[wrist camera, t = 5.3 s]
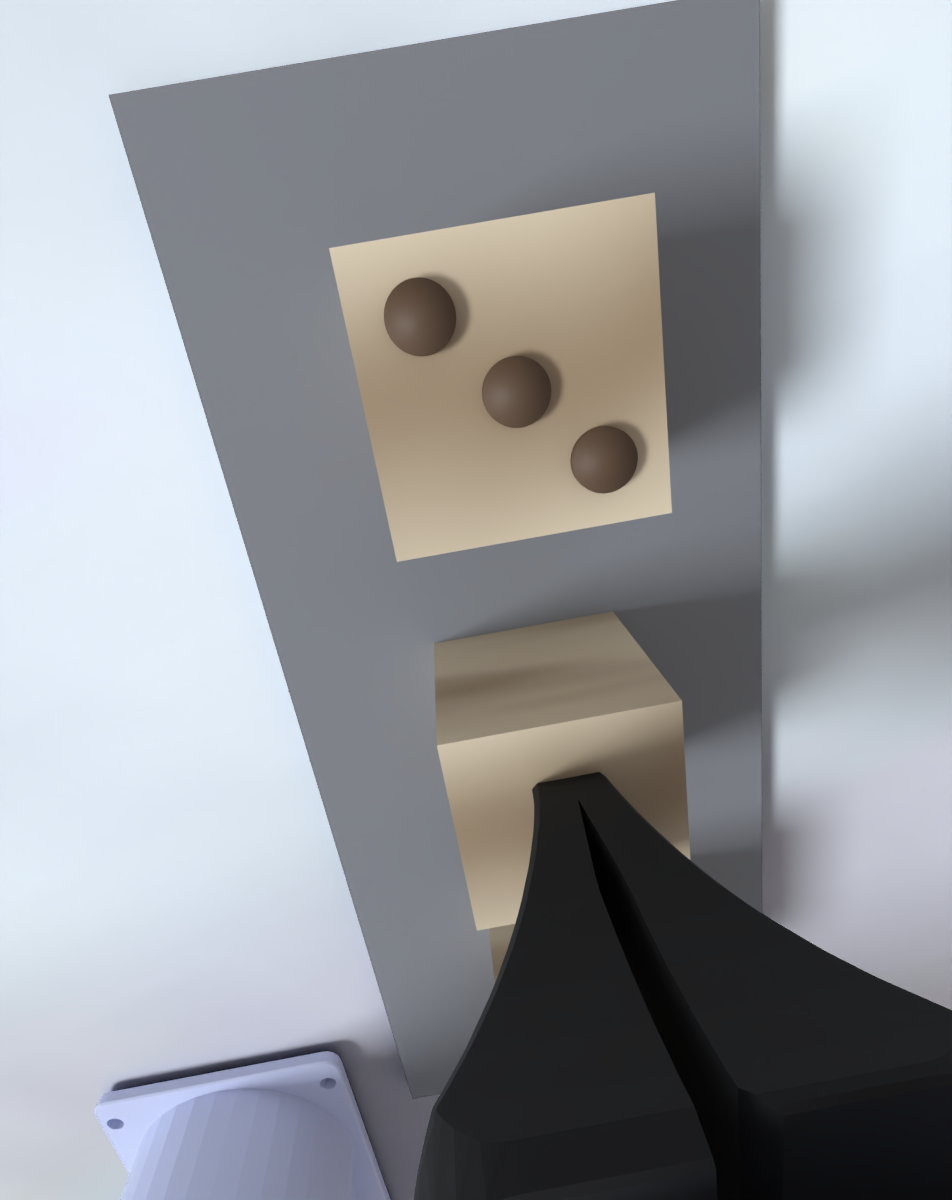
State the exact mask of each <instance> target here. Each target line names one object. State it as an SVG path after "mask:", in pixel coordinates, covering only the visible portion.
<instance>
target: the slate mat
mask: <svg viewBox="0 0 952 1200" xmlns="http://www.w3.org/2000/svg"><path fill="white" fill-rule="evenodd" d="M109 98H110V101H111V105H112V108H113V111H114V114H115V118H116V121H117V124H118V128H119V131H120V134H121V138H122V141H123V144H124V147H125V151H126V154H127V157H128V161H129V164H130V167H131V171H132V174H133V177H134V181H135V184H136V187H137V190H138V194H139V197H140V200H141V204H142V207H143V210H144V214H145V217H146V220H147V223H148V227H149V230H150V233H151V237H152V240H153V243H154V247H155V250H156V253H157V256H158V260H159V263H160V266H161V270H162V273H163V276H164V280H165V283H166V286H167V289H168V293H169V296H170V299H171V303H172V306H173V309H174V313H175V316H176V319H177V323H178V326H179V329H180V332H181V336H182V339H183V342H184V346H185V349H186V352H187V356H188V359H189V362H190V365H191V369H192V372H193V375H194V379H195V382H196V385H197V389H198V392H199V395H200V398H201V402H202V405H203V408H204V412H205V415H206V418H207V422H208V425H209V428H210V432H211V435H212V438H213V441H214V445H215V448H216V451H217V455H218V458H219V461H220V465H221V468H222V471H223V474H224V478H225V481H226V484H227V488H228V491H229V494H230V498H231V501H232V504H233V507H234V511H235V514H236V517H237V521H238V524H239V527H240V531H241V534H242V537H243V540H244V544H245V547H246V550H247V554H248V557H249V560H250V564H251V567H252V570H253V574H254V577H255V580H256V583H257V587H258V590H259V593H260V597H261V600H262V603H263V607H264V610H265V613H266V616H267V620H268V623H269V626H270V630H271V633H272V636H273V640H274V643H275V646H276V649H277V653H278V656H279V659H280V663H281V666H282V669H283V673H284V676H285V679H286V683H287V686H288V689H289V692H290V696H291V699H292V702H293V706H294V709H295V712H296V716H297V719H298V722H299V725H300V729H301V732H302V735H303V739H304V742H305V745H306V749H307V752H308V755H309V758H310V762H311V765H312V768H313V772H314V775H315V778H316V782H317V785H318V788H319V791H320V795H321V798H322V801H323V805H324V808H325V811H326V815H327V818H328V821H329V825H330V828H331V831H332V834H333V838H334V841H335V844H336V848H337V851H338V854H339V858H340V861H341V864H342V867H343V871H344V874H345V877H346V881H347V884H348V887H349V891H350V894H351V897H352V900H353V904H354V907H355V910H356V914H357V917H358V920H359V924H360V927H361V930H362V934H363V937H364V940H365V943H366V947H367V950H368V953H369V957H370V960H371V963H372V967H373V970H374V973H375V976H376V980H377V983H378V986H379V990H380V993H381V996H382V1000H383V1003H384V1006H385V1009H386V1013H387V1016H388V1019H389V1023H390V1026H391V1029H392V1033H393V1036H394V1039H395V1042H396V1046H397V1049H398V1052H399V1056H400V1059H401V1062H402V1066H403V1069H404V1072H405V1076H406V1079H407V1082H408V1085H409V1089H410V1092H411V1095H412V1099H414V1098H419V1097H424V1096H430V1095H435V1094H440V1093H442V1091H443V1089H444V1087H445V1085H446V1084H447V1082H448V1080H449V1078H450V1076H451V1074H452V1073H453V1071H454V1069H455V1067H456V1065H457V1064H458V1062H459V1060H460V1058H461V1056H462V1054H463V1052H464V1051H465V1049H466V1047H467V1045H468V1043H469V1040H470V1038H471V1036H472V1034H473V1032H474V1030H475V1027H476V1025H477V1023H478V1021H479V1019H480V1016H481V1014H482V1012H483V1010H484V1008H485V1006H486V1003H487V1001H488V999H489V997H490V994H491V992H492V989H493V987H494V984H495V982H494V973H493V964H492V956H491V947H490V938H489V929H483V930H478V931H477V929H476V925H475V920H474V915H473V911H472V906H471V901H470V897H469V892H468V888H467V883H466V878H465V874H464V869H463V864H462V860H461V855H460V851H459V846H458V841H457V837H456V832H455V828H454V823H453V818H452V814H451V809H450V804H449V800H448V795H447V791H446V786H445V781H444V777H443V772H442V767H441V763H440V758H439V754H438V749H437V737H436V706H435V674H434V644H435V643H440V642H446V641H451V640H457V639H462V638H468V637H473V636H479V635H484V634H490V633H496V632H501V631H507V630H512V629H518V628H523V627H529V626H534V625H540V624H545V623H551V622H557V621H562V620H568V619H573V618H579V617H584V616H590V615H595V614H601V613H606V612H612V611H613V612H614V613H615V615H616V616H617V617H618V619H619V620H620V621H621V623H622V624H623V625H624V626H625V628H626V629H627V630H628V632H629V633H630V634H631V635H632V637H633V638H634V639H635V641H636V642H637V643H638V645H639V646H640V647H641V648H642V650H643V651H644V652H645V654H646V655H647V656H648V657H649V659H650V660H651V661H652V663H653V664H654V665H655V666H656V668H657V669H658V670H659V672H660V673H661V674H662V676H663V677H664V678H665V679H666V681H667V682H668V683H669V685H670V686H671V687H672V688H673V690H674V691H675V692H676V694H677V695H678V696H679V698H680V699H681V700H682V711H683V729H684V748H685V767H686V785H687V804H688V823H689V841H690V860H691V861H692V862H693V863H694V864H696V865H697V866H698V867H699V868H700V869H702V870H703V871H704V872H705V873H707V874H708V875H709V876H710V877H712V878H713V879H714V880H716V881H717V882H718V883H720V884H721V885H722V886H724V887H725V888H726V889H728V890H729V891H730V892H732V893H733V894H735V895H736V896H737V897H739V898H740V899H742V900H743V901H744V902H746V903H747V904H749V905H750V906H752V907H753V908H755V909H756V910H758V911H759V912H761V913H762V732H761V350H760V0H677V1H671V2H665V3H659V4H653V5H647V6H641V7H635V8H629V9H623V10H616V11H610V12H604V13H598V14H592V15H586V16H580V17H574V18H568V19H562V20H556V21H550V22H544V23H538V24H532V25H526V26H520V27H514V28H508V29H502V30H496V31H490V32H484V33H478V34H472V35H466V36H460V37H454V38H448V39H442V40H436V41H430V42H424V43H418V44H412V45H406V46H400V47H394V48H388V49H382V50H376V51H370V52H364V53H358V54H352V55H346V56H340V57H334V58H328V59H322V60H316V61H310V62H304V63H298V64H292V65H286V66H280V67H274V68H268V69H262V70H256V71H250V72H244V73H238V74H232V75H226V76H220V77H214V78H208V79H202V80H196V81H190V82H184V83H178V84H172V85H166V86H160V87H154V88H148V89H142V90H136V91H130V92H124V93H118V94H112V95H109ZM649 193H655V205H656V224H657V242H658V261H659V280H660V298H661V317H662V336H663V355H664V373H665V392H666V411H667V429H668V448H669V467H670V486H671V504H672V513H669V514H663V515H657V516H652V517H646V518H641V519H635V520H629V521H624V522H618V523H613V524H607V525H601V526H596V527H590V528H585V529H579V530H573V531H568V532H562V533H556V534H551V535H545V536H540V537H534V538H528V539H523V540H517V541H512V542H506V543H500V544H495V545H489V546H484V547H478V548H472V549H467V550H461V551H456V552H450V553H444V554H439V555H433V556H428V557H422V558H416V559H411V560H405V561H399V562H397V560H396V556H395V551H394V546H393V542H392V537H391V532H390V528H389V523H388V519H387V514H386V509H385V505H384V500H383V495H382V491H381V486H380V482H379V477H378V472H377V468H376V463H375V459H374V454H373V449H372V445H371V440H370V435H369V431H368V426H367V422H366V417H365V412H364V408H363V403H362V398H361V394H360V389H359V385H358V380H357V375H356V371H355V366H354V362H353V357H352V352H351V348H350V343H349V338H348V334H347V329H346V325H345V320H344V315H343V311H342V306H341V301H340V297H339V292H338V288H337V283H336V278H335V274H334V269H333V265H332V260H331V255H330V251H329V248H333V247H339V246H345V245H351V244H356V243H362V242H368V241H374V240H380V239H386V238H392V237H397V236H403V235H409V234H415V233H421V232H427V231H433V230H438V229H444V228H450V227H456V226H462V225H468V224H474V223H479V222H485V221H491V220H497V219H503V218H509V217H515V216H520V215H526V214H532V213H538V212H544V211H550V210H556V209H561V208H567V207H573V206H579V205H585V204H591V203H597V202H602V201H608V200H614V199H620V198H626V197H632V196H638V195H643V194H649Z"/></svg>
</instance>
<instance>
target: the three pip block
mask: <svg viewBox="0 0 952 1200" xmlns="http://www.w3.org/2000/svg"><path fill="white" fill-rule="evenodd" d="M329 251H330V255H331V260H332V265H333V269H334V274H335V278H336V283H337V288H338V292H339V297H340V301H341V306H342V311H343V315H344V320H345V325H346V329H347V334H348V338H349V343H350V348H351V352H352V357H353V362H354V366H355V371H356V375H357V380H358V385H359V389H360V394H361V398H362V403H363V408H364V412H365V417H366V422H367V426H368V431H369V435H370V440H371V445H372V449H373V454H374V459H375V463H376V468H377V472H378V477H379V482H380V486H381V491H382V495H383V500H384V505H385V509H386V514H387V519H388V523H389V528H390V532H391V537H392V542H393V546H394V551H395V556H396V560H397V562H399V561H405V560H411V559H416V558H422V557H428V556H433V555H439V554H444V553H450V552H456V551H461V550H467V549H472V548H478V547H484V546H489V545H495V544H500V543H506V542H512V541H517V540H523V539H528V538H534V537H540V536H545V535H551V534H556V533H562V532H568V531H573V530H579V529H585V528H590V527H596V526H601V525H607V524H613V523H618V522H624V521H629V520H635V519H641V518H646V517H652V516H657V515H663V514H669V513H672V504H671V486H670V467H669V448H668V429H667V411H666V392H665V373H664V355H663V336H662V317H661V298H660V280H659V261H658V242H657V224H656V205H655V193H649V194H643V195H638V196H632V197H626V198H620V199H614V200H608V201H602V202H597V203H591V204H585V205H579V206H573V207H567V208H561V209H556V210H550V211H544V212H538V213H532V214H526V215H520V216H515V217H509V218H503V219H497V220H491V221H485V222H479V223H474V224H468V225H462V226H456V227H450V228H444V229H438V230H433V231H427V232H421V233H415V234H409V235H403V236H397V237H392V238H386V239H380V240H374V241H368V242H362V243H356V244H351V245H345V246H339V247H333V248H329Z"/></svg>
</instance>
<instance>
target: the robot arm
mask: <svg viewBox="0 0 952 1200" xmlns="http://www.w3.org/2000/svg"><path fill="white" fill-rule="evenodd" d="M532 793H533V800H534V829H533V838H532V846H531V854H530V861H529V867H528V872H527V877H526V882H525V886H524V891H523V896H522V900H521V904H520V908H519V912H518V916H517V919H516V923H515V926H514V930H513V933H512V936H511V939H510V943H509V946H508V949H507V952H506V954H505V957H504V960H503V963H502V965H501V968H500V971H499V974H498V977H497V979H496V982H495V984H494V987H493V989H492V992H491V994H490V997H489V999H488V1001H487V1003H486V1006H485V1008H484V1010H483V1012H482V1014H481V1016H480V1019H479V1021H478V1023H477V1025H476V1027H475V1030H474V1032H473V1034H472V1036H471V1038H470V1040H469V1043H468V1045H467V1047H466V1049H465V1051H464V1052H463V1054H462V1056H461V1058H460V1060H459V1062H458V1064H457V1065H456V1067H455V1069H454V1071H453V1073H452V1074H451V1076H450V1078H449V1080H448V1082H447V1084H446V1085H445V1087H444V1089H443V1091H442V1093H441V1094H440V1096H439V1098H438V1100H437V1102H436V1103H435V1105H434V1107H433V1109H432V1113H431V1117H430V1121H429V1125H428V1129H427V1133H426V1137H425V1141H424V1146H423V1150H422V1155H421V1160H420V1165H419V1170H418V1175H417V1182H416V1188H415V1196H414V1200H952V1010H949V1009H947V1008H945V1007H943V1006H940V1005H938V1004H936V1003H934V1002H931V1001H929V1000H927V999H925V998H922V997H920V996H918V995H915V994H913V993H911V992H909V991H906V990H904V989H902V988H900V987H897V986H895V985H893V984H890V983H888V982H886V981H884V980H881V979H879V978H877V977H875V976H873V975H871V974H869V973H867V972H865V971H863V970H861V969H859V968H857V967H855V966H853V965H851V964H849V963H847V962H845V961H843V960H841V959H839V958H837V957H835V956H834V955H832V954H830V953H828V952H826V951H824V950H822V949H821V948H819V947H817V946H815V945H814V944H812V943H810V942H809V941H807V940H805V939H803V938H802V937H800V936H798V935H797V934H795V933H793V932H792V931H790V930H788V929H786V928H785V927H783V926H781V925H780V924H778V923H776V922H775V921H773V920H771V919H770V918H768V917H767V916H765V915H764V914H762V913H761V912H759V911H758V910H756V909H755V908H753V907H752V906H750V905H749V904H747V903H746V902H744V901H743V900H742V899H740V898H739V897H737V896H736V895H735V894H733V893H732V892H730V891H729V890H728V889H726V888H725V887H724V886H722V885H721V884H720V883H718V882H717V881H716V880H714V879H713V878H712V877H710V876H709V875H708V874H707V873H705V872H704V871H703V870H702V869H700V868H699V867H698V866H697V865H696V864H694V863H693V862H692V861H691V860H690V859H688V858H687V857H686V856H685V855H684V854H682V853H681V852H680V851H679V850H678V849H677V848H676V847H674V846H673V845H672V844H671V843H670V842H669V841H668V840H667V839H666V838H665V837H664V836H662V835H661V834H660V833H659V832H658V831H657V830H656V829H655V828H654V827H653V826H652V825H651V824H650V823H649V822H648V821H646V820H645V819H644V818H643V817H642V816H641V815H640V814H639V813H638V812H637V810H636V809H635V808H634V807H633V806H632V805H631V804H630V803H629V802H628V801H627V800H626V799H625V798H624V797H623V796H622V795H621V794H620V792H619V791H618V790H617V789H616V788H615V787H614V786H613V785H612V783H611V782H610V781H609V780H608V779H607V777H606V776H605V775H603V774H602V773H600V772H596V773H591V774H585V775H580V776H575V777H569V778H564V779H559V780H553V781H548V782H542V783H537V784H536V785H535V786H534V787H533V789H532ZM94 1113H95V1116H96V1118H97V1120H98V1121H99V1123H100V1125H101V1126H102V1128H103V1130H104V1132H105V1133H106V1135H107V1137H108V1138H109V1140H110V1142H111V1144H112V1145H113V1147H114V1149H115V1150H116V1152H117V1154H118V1156H119V1157H120V1159H121V1161H122V1162H123V1164H124V1166H125V1168H126V1169H127V1171H128V1173H129V1176H128V1178H127V1181H126V1184H125V1187H124V1189H123V1192H122V1195H121V1197H120V1200H390V1197H389V1194H388V1192H387V1189H386V1186H385V1183H384V1180H383V1177H382V1175H381V1172H380V1169H379V1166H378V1163H377V1160H376V1158H375V1155H374V1152H373V1149H372V1146H371V1143H370V1141H369V1138H368V1135H367V1132H366V1129H365V1126H364V1123H363V1121H362V1118H361V1115H360V1112H359V1109H358V1106H357V1104H356V1101H355V1098H354V1095H353V1092H352V1089H351V1087H350V1084H349V1081H348V1078H347V1075H346V1072H345V1070H344V1067H343V1064H342V1061H341V1059H340V1057H339V1056H338V1055H337V1054H335V1053H333V1052H329V1051H324V1052H318V1053H312V1054H307V1055H302V1056H297V1057H291V1058H286V1059H281V1060H276V1061H270V1062H265V1063H260V1064H254V1065H249V1066H244V1067H239V1068H233V1069H228V1070H223V1071H217V1072H212V1073H207V1074H202V1075H196V1076H191V1077H186V1078H180V1079H175V1080H170V1081H165V1082H159V1083H154V1084H149V1085H144V1086H138V1087H133V1088H128V1089H122V1090H117V1091H112V1092H108V1093H105V1094H103V1095H102V1096H101V1097H100V1099H99V1101H98V1103H97V1105H96V1108H95V1110H94Z"/></svg>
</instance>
